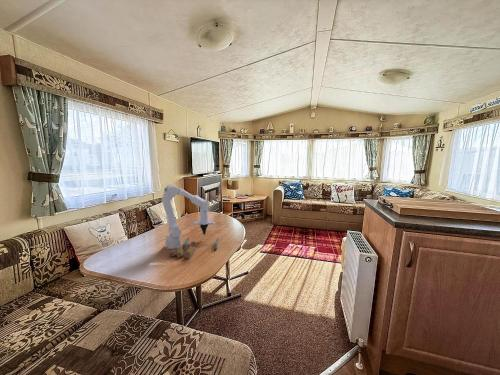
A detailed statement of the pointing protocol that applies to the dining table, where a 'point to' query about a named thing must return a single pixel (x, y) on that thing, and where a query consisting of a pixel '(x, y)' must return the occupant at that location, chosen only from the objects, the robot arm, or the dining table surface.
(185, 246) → the pair of rectangular slabs
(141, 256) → the dining table surface
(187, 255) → the wooden block set
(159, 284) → the dining table surface
